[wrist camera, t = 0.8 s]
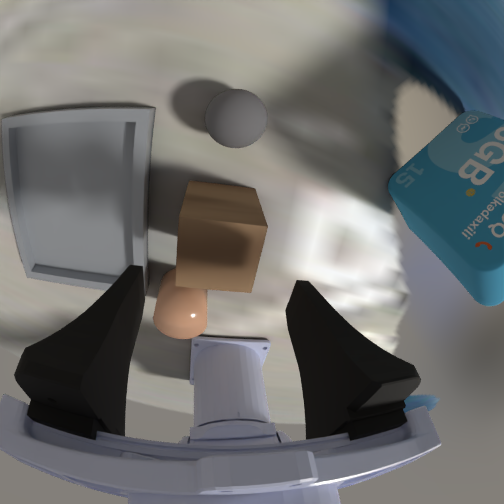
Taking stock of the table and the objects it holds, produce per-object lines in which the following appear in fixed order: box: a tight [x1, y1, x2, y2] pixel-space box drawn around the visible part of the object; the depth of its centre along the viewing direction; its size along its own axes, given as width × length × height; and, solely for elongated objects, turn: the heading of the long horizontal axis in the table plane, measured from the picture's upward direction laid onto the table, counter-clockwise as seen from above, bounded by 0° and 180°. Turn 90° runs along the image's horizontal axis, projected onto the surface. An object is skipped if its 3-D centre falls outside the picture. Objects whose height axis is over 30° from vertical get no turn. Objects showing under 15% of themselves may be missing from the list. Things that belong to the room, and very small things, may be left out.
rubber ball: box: [205, 89, 267, 148], centre depth 14 cm, size 4×4×4 cm
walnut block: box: [175, 181, 268, 293], centre depth 17 cm, size 4×4×6 cm
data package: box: [388, 111, 504, 306], centre depth 14 cm, size 12×4×12 cm, turn 133°
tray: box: [2, 107, 156, 296], centre depth 17 cm, size 14×12×2 cm
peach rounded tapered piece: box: [153, 269, 207, 339], centre depth 21 cm, size 4×4×4 cm
